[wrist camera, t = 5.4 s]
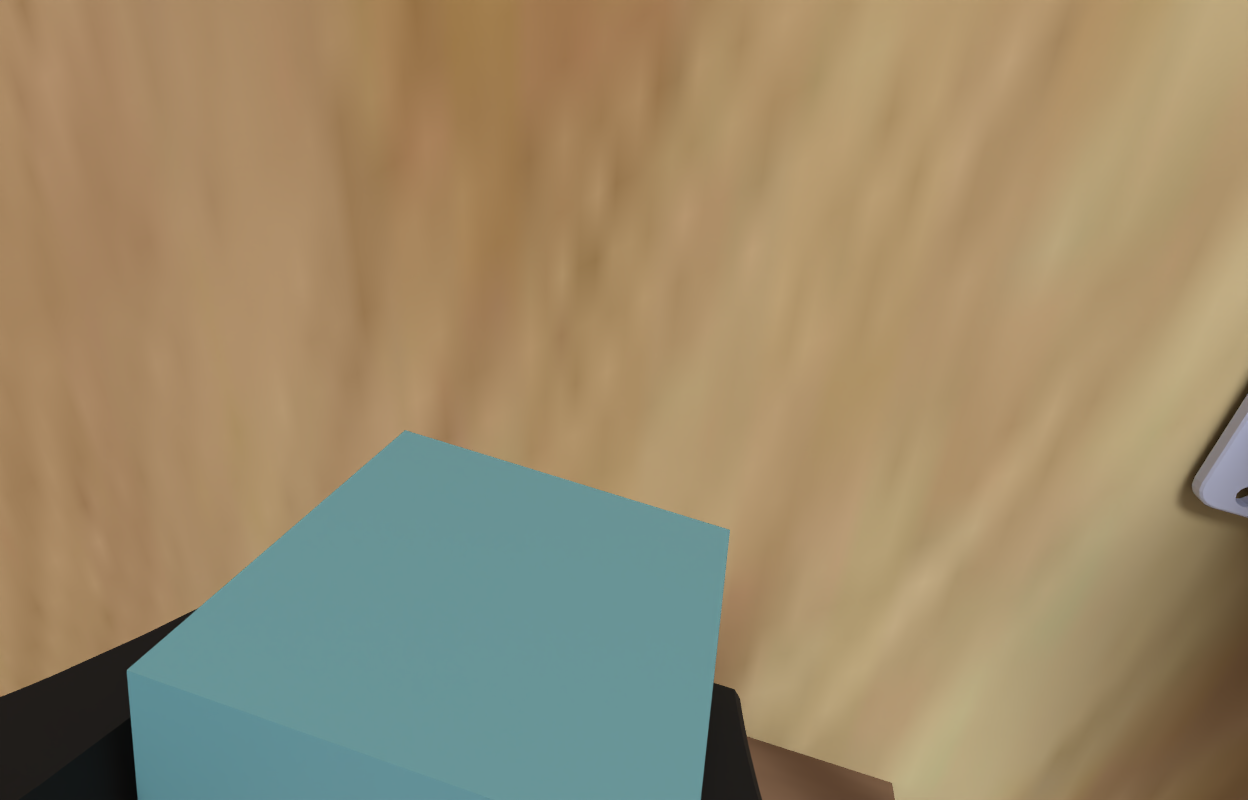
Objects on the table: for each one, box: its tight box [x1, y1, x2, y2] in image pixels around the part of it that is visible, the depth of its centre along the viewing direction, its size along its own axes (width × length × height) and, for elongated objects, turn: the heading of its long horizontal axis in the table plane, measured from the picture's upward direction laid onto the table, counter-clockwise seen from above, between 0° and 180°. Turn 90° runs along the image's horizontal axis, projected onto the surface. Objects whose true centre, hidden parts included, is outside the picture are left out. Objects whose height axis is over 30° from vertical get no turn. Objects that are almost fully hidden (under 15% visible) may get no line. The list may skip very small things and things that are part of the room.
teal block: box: [127, 430, 730, 800], centre depth 9 cm, size 5×5×5 cm
